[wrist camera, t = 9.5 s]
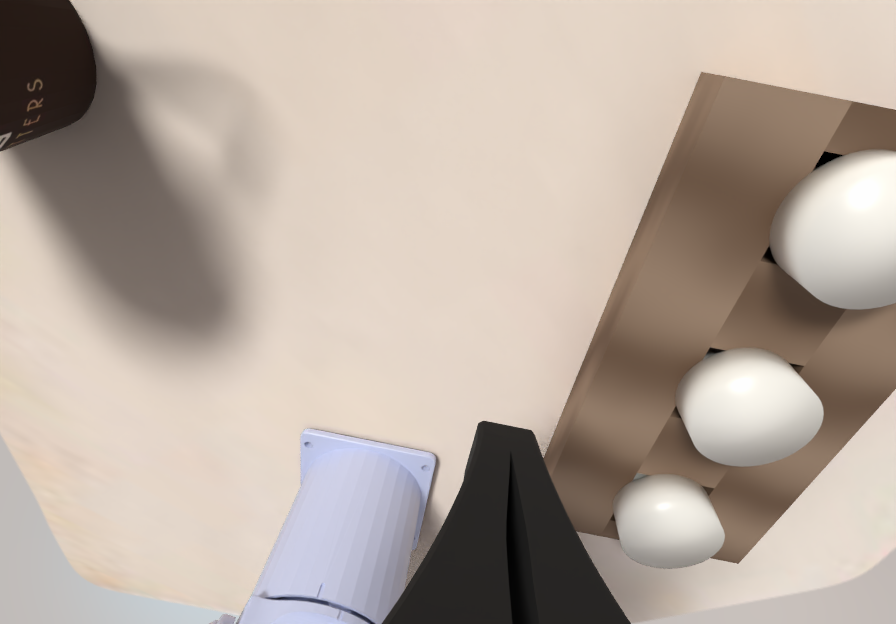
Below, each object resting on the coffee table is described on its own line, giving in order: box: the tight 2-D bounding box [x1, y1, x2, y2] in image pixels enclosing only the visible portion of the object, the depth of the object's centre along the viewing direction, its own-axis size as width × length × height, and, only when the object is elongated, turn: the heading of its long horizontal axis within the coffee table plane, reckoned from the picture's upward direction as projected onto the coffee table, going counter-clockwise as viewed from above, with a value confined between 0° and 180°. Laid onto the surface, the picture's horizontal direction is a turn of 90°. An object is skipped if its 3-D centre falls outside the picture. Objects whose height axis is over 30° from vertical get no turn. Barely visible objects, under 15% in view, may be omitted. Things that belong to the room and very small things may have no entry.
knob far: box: [613, 473, 725, 569], centre depth 24 cm, size 5×5×4 cm
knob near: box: [769, 149, 896, 310], centre depth 16 cm, size 5×5×4 cm
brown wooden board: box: [544, 72, 896, 564], centre depth 21 cm, size 23×12×2 cm, turn 170°
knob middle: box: [675, 347, 824, 467], centre depth 20 cm, size 5×5×4 cm
